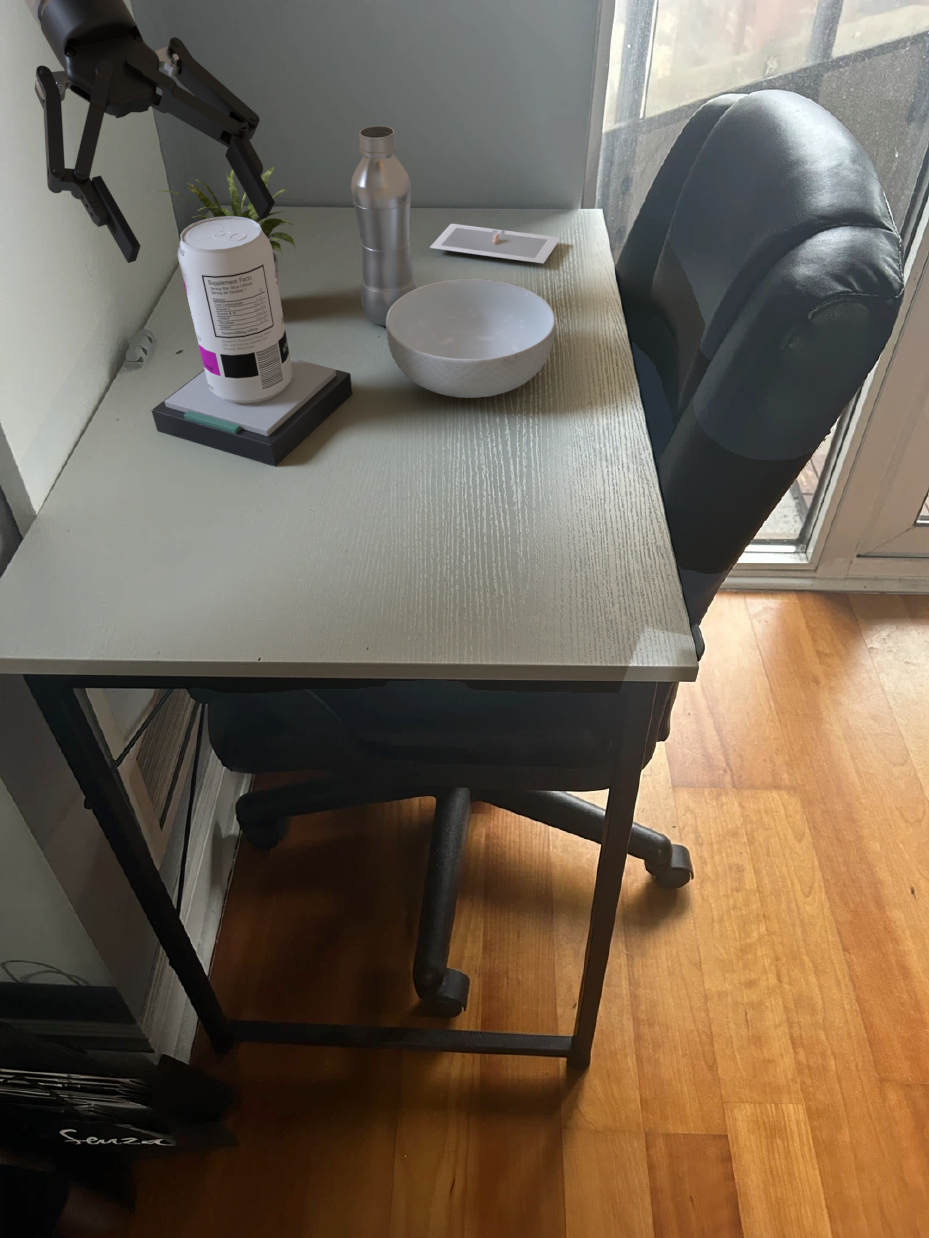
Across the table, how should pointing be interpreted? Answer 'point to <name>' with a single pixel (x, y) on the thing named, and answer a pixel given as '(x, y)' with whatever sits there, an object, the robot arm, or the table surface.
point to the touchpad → (496, 243)
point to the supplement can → (235, 308)
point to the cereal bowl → (470, 336)
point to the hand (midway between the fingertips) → (203, 232)
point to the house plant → (236, 211)
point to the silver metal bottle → (382, 222)
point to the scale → (255, 413)
